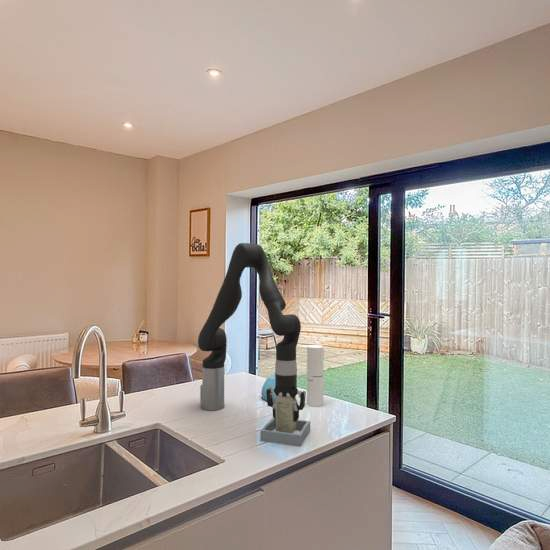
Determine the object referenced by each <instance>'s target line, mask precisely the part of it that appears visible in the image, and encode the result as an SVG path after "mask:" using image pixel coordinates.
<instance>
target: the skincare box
mask: <svg viewBox="0 0 550 550" xmlns="http://www.w3.org/2000/svg"><path fill="white" fill-rule="evenodd" d="M296 397H297V396H295V397H294V399H293V397H292V398H291V397H289V398H288V397H286V396H282V397H278V396H275V402H274V403H275V413H276V428H275V431H278V432H286V433H294V432H295V431H297V430H296V422H294V408H293V405H292V399H293V401H295V398H296ZM296 399H297V398H296Z"/></svg>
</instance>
